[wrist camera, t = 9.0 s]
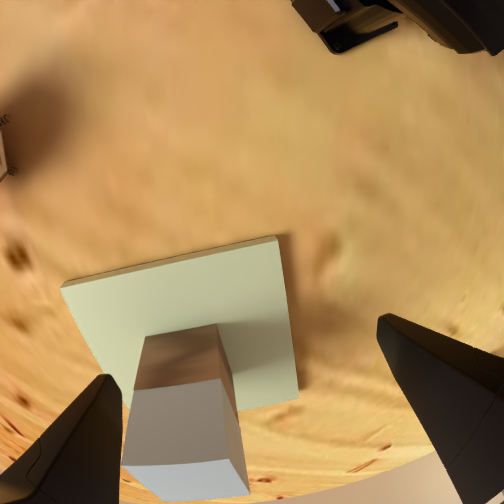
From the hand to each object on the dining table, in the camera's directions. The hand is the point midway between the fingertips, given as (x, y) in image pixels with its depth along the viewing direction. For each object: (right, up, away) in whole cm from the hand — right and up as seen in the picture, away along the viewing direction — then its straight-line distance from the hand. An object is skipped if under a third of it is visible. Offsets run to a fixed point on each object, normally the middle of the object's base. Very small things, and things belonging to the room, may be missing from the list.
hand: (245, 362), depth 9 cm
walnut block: (-5, -5, +13) cm, 15 cm away
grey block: (-4, -7, +8) cm, 11 cm away
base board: (-5, -4, +14) cm, 16 cm away
